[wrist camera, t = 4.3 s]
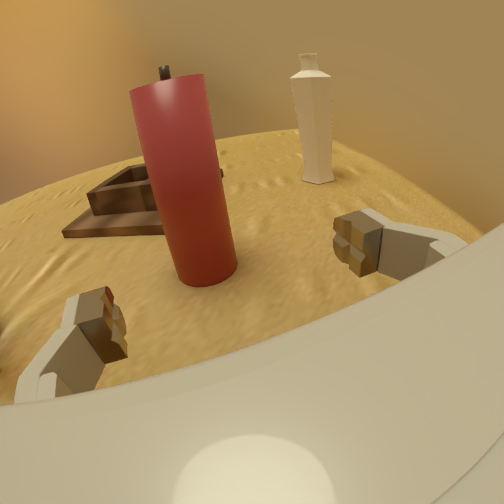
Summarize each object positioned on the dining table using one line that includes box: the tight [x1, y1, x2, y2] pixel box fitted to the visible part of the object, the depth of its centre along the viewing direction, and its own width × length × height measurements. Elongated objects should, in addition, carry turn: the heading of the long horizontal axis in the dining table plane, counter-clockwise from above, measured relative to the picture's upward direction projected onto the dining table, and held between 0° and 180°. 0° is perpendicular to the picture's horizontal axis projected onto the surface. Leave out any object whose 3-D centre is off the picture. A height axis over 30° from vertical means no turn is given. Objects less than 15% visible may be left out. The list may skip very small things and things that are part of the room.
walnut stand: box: [62, 164, 223, 238], centre depth 34 cm, size 16×16×4 cm
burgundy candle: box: [130, 66, 237, 287], centre depth 18 cm, size 4×4×14 cm
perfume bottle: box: [290, 54, 335, 184], centre depth 30 cm, size 5×4×15 cm
